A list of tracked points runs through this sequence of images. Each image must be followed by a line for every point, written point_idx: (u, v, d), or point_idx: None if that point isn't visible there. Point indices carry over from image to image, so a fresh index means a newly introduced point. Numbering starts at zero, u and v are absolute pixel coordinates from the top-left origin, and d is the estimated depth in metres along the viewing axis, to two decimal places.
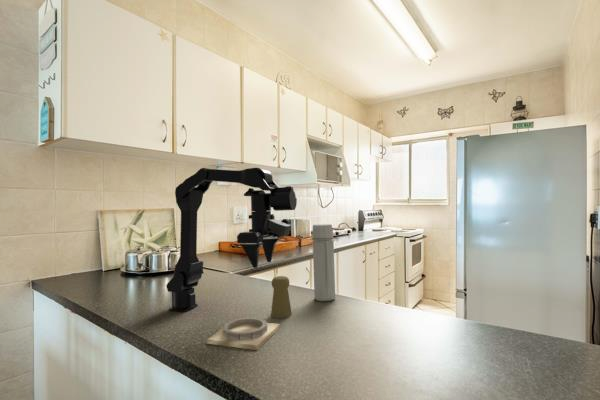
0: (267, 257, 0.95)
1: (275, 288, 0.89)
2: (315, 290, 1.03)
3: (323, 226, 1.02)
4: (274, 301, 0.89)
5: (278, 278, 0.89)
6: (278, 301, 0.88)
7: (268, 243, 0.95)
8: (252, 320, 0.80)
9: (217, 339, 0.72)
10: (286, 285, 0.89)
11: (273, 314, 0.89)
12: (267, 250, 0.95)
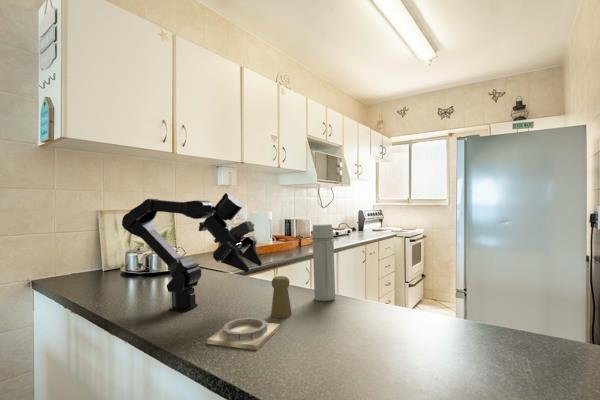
0: (256, 262, 0.98)
1: (275, 288, 0.89)
2: (315, 290, 1.03)
3: (323, 226, 1.02)
4: (274, 301, 0.89)
5: (278, 278, 0.89)
6: (278, 301, 0.88)
7: (249, 252, 0.99)
8: (252, 320, 0.80)
9: (217, 339, 0.72)
10: (286, 285, 0.89)
11: (273, 314, 0.89)
12: (252, 258, 0.98)
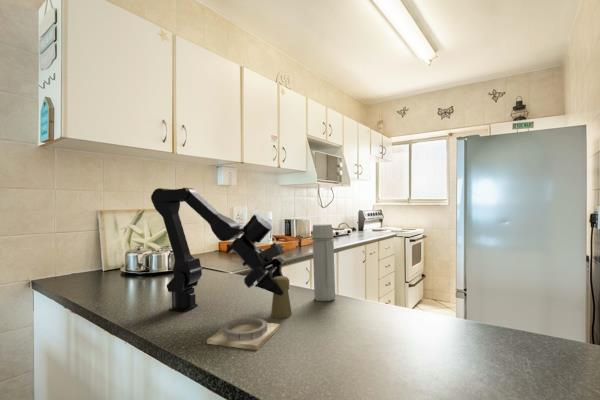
0: None
1: None
2: (315, 290, 1.03)
3: (323, 226, 1.02)
4: (274, 301, 0.89)
5: (278, 278, 0.89)
6: (278, 301, 0.88)
7: (275, 276, 0.94)
8: (252, 320, 0.80)
9: (217, 339, 0.72)
10: (286, 285, 0.89)
11: (273, 314, 0.89)
12: None
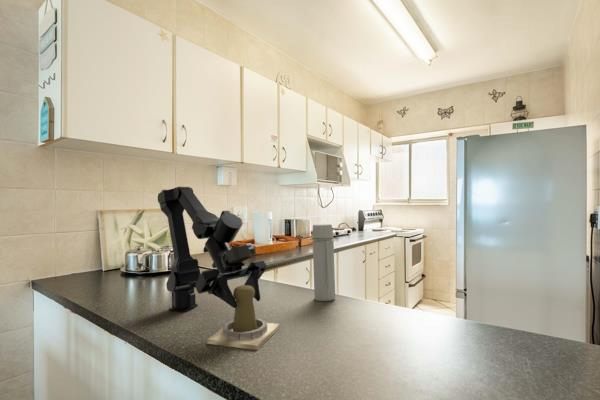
0: (255, 296, 0.79)
1: (235, 299, 0.76)
2: (315, 290, 1.03)
3: (323, 226, 1.02)
4: None
5: (237, 288, 0.76)
6: (236, 315, 0.75)
7: (250, 282, 0.81)
8: None
9: (217, 339, 0.72)
10: (245, 297, 0.74)
11: (233, 329, 0.76)
12: None
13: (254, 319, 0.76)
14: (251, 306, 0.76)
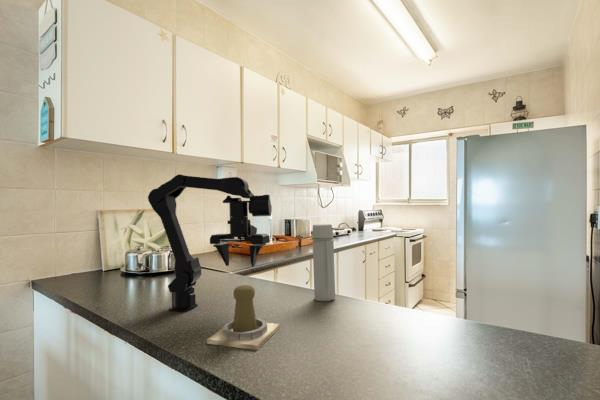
0: (227, 261, 1.00)
1: (235, 299, 0.76)
2: (315, 290, 1.03)
3: (323, 226, 1.02)
4: None
5: (238, 288, 0.76)
6: (236, 315, 0.75)
7: (225, 248, 1.00)
8: None
9: (217, 339, 0.72)
10: (245, 297, 0.74)
11: (233, 329, 0.76)
12: (226, 255, 1.00)
13: (254, 319, 0.76)
14: (251, 306, 0.76)
